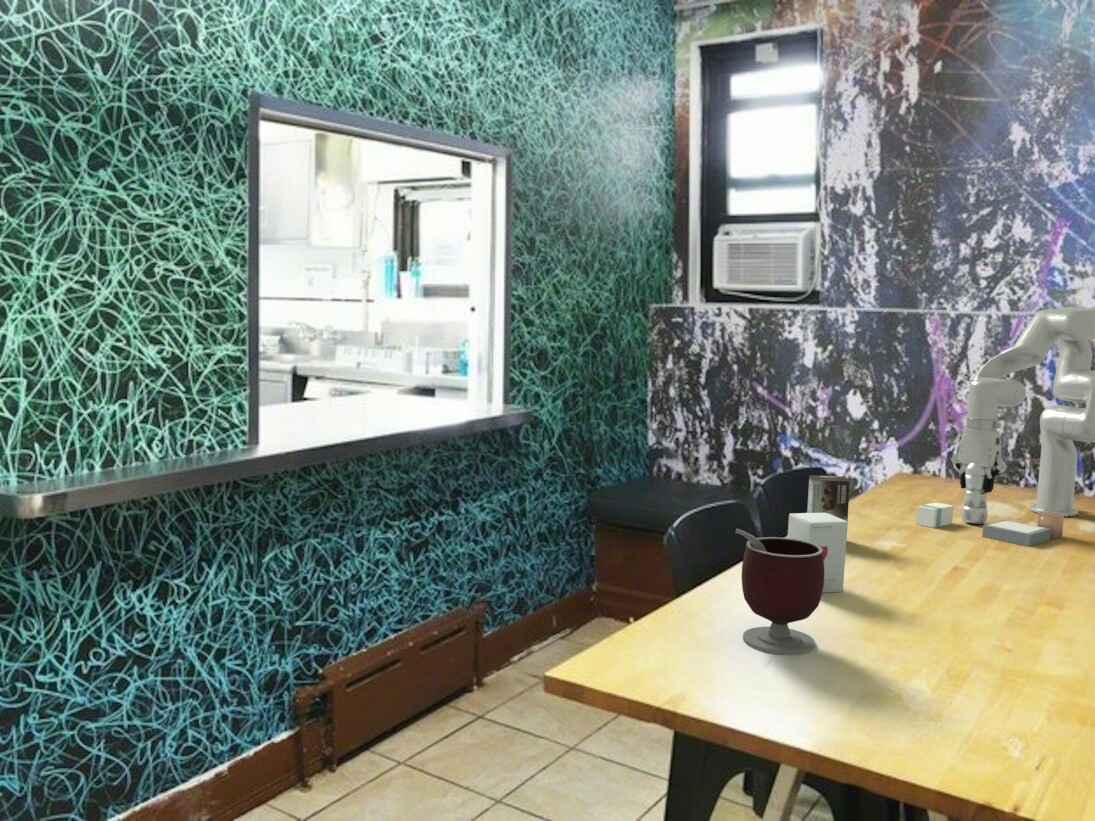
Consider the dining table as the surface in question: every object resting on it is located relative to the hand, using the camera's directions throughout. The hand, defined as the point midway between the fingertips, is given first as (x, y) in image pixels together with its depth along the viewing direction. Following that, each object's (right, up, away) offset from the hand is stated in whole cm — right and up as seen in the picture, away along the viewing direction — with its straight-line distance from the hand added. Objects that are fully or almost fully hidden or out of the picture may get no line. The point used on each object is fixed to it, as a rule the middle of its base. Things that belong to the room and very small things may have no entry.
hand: (976, 489), depth 267 cm
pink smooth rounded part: (+14, -11, -12) cm, 22 cm away
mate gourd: (-78, -19, -97) cm, 126 cm away
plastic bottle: (0, -10, +1) cm, 10 cm away
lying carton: (-12, -9, -1) cm, 15 cm away
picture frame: (+4, -11, -15) cm, 19 cm away
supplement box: (-62, -15, -64) cm, 90 cm away
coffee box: (-48, -11, -24) cm, 55 cm away
